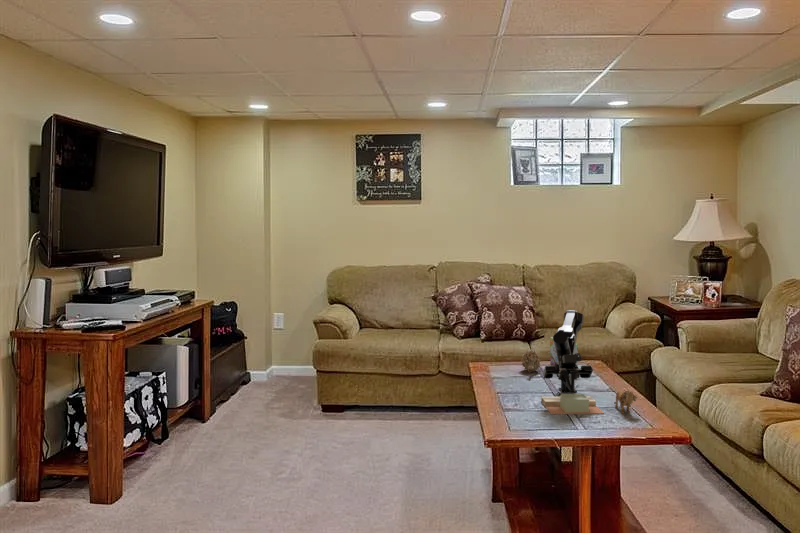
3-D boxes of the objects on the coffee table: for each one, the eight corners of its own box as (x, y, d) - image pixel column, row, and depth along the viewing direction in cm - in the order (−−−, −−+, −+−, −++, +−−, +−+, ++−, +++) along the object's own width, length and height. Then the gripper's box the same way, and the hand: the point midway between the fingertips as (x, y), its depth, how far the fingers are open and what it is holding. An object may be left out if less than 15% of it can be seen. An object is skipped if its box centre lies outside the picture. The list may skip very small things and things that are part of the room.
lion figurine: (638, 415, 229) (639, 391, 228) (625, 416, 228) (625, 392, 227) (620, 404, 243) (620, 382, 243) (607, 404, 242) (607, 382, 242)
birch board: (541, 401, 248) (541, 396, 248) (590, 401, 248) (590, 396, 247) (545, 406, 241) (545, 401, 241) (595, 406, 241) (595, 401, 240)
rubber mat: (545, 406, 240) (545, 406, 240) (596, 406, 240) (596, 405, 240) (551, 414, 231) (551, 413, 231) (604, 413, 231) (604, 413, 231)
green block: (560, 394, 239) (565, 399, 232) (583, 394, 239) (588, 399, 232) (560, 406, 239) (565, 412, 232) (583, 406, 239) (588, 412, 232)
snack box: (549, 365, 312) (549, 336, 311) (559, 365, 313) (559, 336, 312) (567, 375, 291) (568, 344, 290) (578, 374, 292) (578, 343, 291)
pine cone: (519, 367, 308) (520, 348, 308) (539, 368, 307) (539, 348, 306) (522, 378, 286) (522, 357, 286) (543, 378, 285) (543, 357, 284)
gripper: (544, 345, 243) (551, 379, 233) (591, 345, 243) (600, 379, 233) (540, 361, 252) (546, 394, 241) (585, 360, 251) (593, 394, 241)
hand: (571, 390), depth 239 cm, fingers closed
